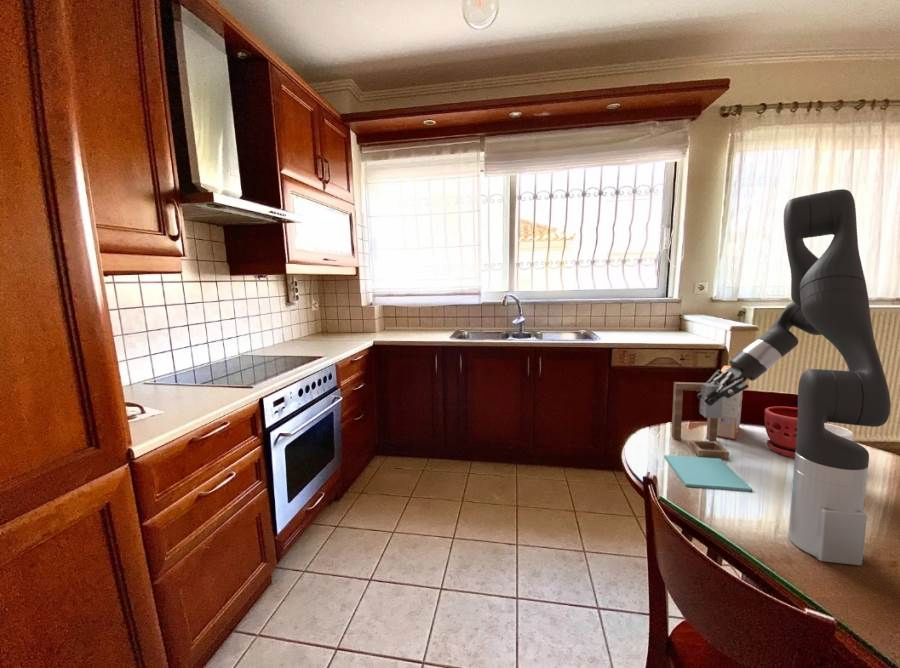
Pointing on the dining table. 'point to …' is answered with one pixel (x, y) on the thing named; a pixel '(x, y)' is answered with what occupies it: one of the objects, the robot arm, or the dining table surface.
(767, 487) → the dining table surface
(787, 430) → the plant pot
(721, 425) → the cracker box
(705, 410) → the steel bar
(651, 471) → the dining table surface
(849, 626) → the dining table surface
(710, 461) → the teal mat
